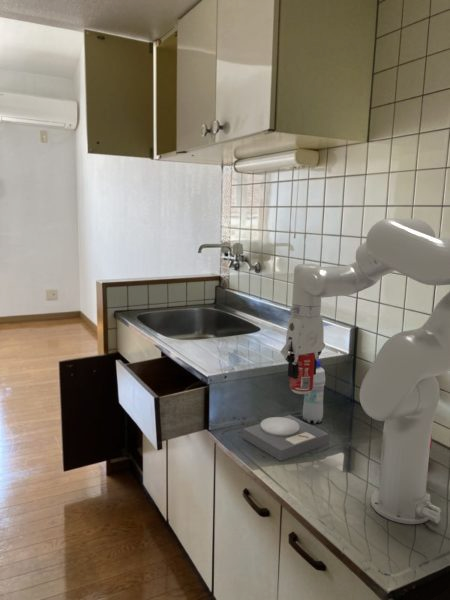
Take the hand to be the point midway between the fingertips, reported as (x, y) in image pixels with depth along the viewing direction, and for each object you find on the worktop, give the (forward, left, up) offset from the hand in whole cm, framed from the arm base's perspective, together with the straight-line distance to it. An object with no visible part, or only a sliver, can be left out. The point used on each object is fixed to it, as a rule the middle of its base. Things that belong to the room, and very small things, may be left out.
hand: (301, 374), depth 130 cm
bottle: (+10, -16, -21) cm, 28 cm away
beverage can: (0, 0, -5) cm, 5 cm away
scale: (+4, +1, -20) cm, 21 cm away
